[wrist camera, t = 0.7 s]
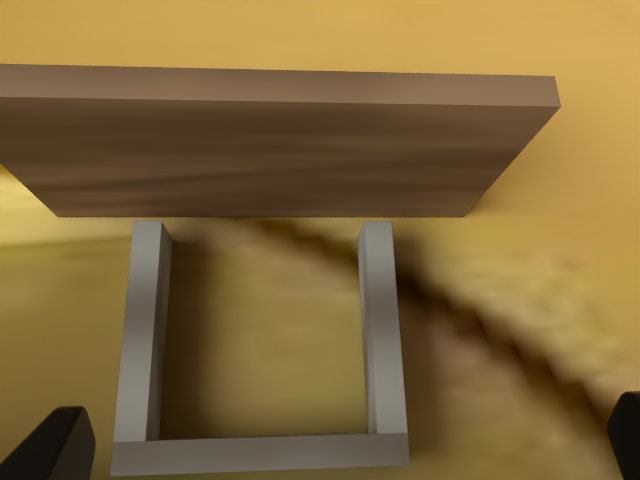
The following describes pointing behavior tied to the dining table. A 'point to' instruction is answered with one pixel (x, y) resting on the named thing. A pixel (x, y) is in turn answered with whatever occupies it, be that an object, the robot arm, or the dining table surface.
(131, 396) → the grey frame stand
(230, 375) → the dining table surface
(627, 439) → the robot arm
